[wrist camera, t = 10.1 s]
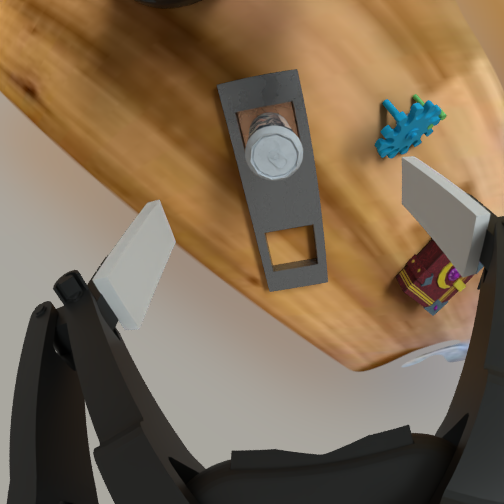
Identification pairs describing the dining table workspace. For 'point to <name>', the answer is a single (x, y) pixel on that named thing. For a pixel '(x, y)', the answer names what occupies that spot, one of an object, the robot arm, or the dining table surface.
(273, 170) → the beer can
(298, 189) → the rail
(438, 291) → the decorative book
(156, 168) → the dining table surface
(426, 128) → the gear
